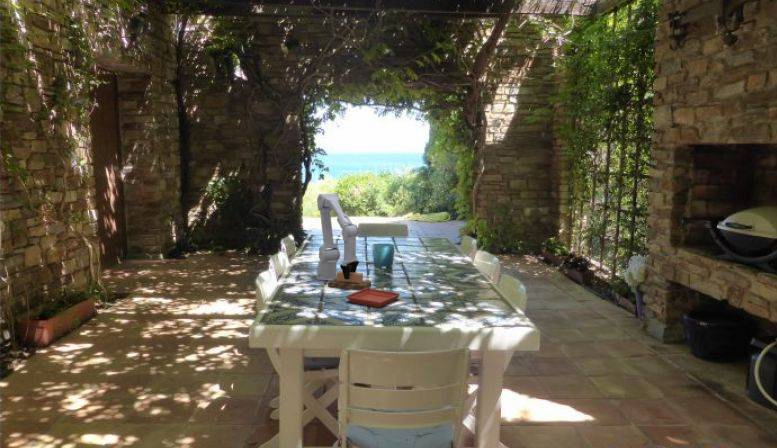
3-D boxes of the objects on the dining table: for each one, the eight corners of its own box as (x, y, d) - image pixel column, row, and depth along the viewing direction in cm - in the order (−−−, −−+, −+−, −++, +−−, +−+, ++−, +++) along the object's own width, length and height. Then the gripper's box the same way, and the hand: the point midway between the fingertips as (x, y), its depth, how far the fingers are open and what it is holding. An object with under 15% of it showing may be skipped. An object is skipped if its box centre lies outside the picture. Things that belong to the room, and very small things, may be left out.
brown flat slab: (327, 287, 268) (327, 282, 268) (335, 283, 276) (335, 278, 276) (364, 291, 262) (364, 285, 262) (371, 286, 271) (371, 281, 270)
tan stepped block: (336, 286, 269) (336, 272, 268) (339, 285, 273) (339, 271, 272) (359, 289, 266) (360, 274, 265) (362, 287, 269) (362, 273, 268)
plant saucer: (367, 294, 258) (367, 287, 257) (401, 300, 249) (401, 293, 248) (345, 303, 242) (345, 296, 242) (380, 310, 233) (380, 302, 233)
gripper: (352, 253, 259) (351, 281, 261) (362, 248, 272) (362, 275, 274) (338, 252, 261) (338, 280, 263) (349, 247, 275) (349, 273, 276)
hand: (349, 277), depth 269 cm, fingers open, 7 cm apart
